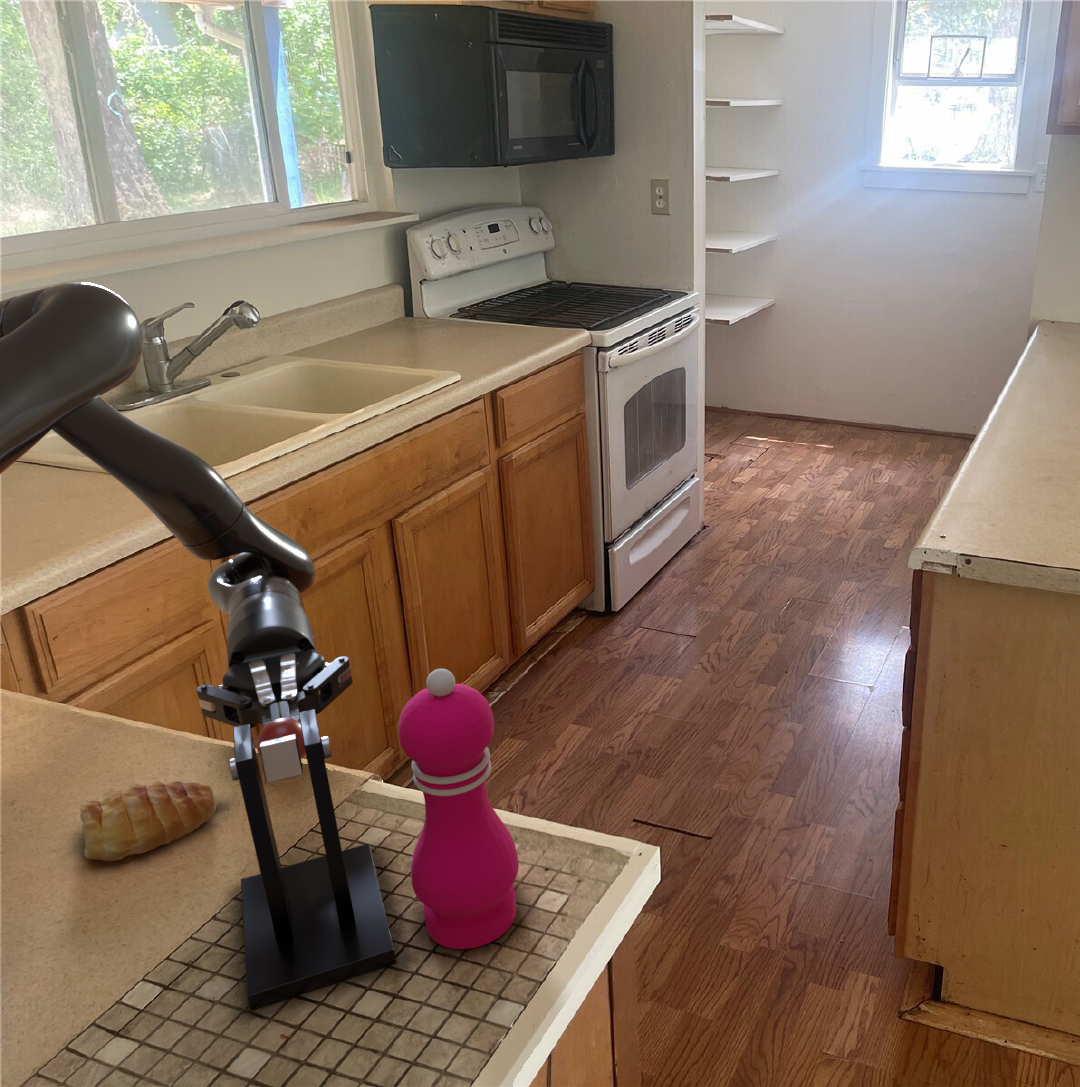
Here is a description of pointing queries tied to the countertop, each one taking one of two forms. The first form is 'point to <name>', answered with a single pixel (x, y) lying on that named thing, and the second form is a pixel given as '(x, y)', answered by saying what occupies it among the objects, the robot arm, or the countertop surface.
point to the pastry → (143, 817)
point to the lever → (281, 749)
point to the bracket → (306, 892)
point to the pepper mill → (458, 816)
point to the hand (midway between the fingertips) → (284, 735)
